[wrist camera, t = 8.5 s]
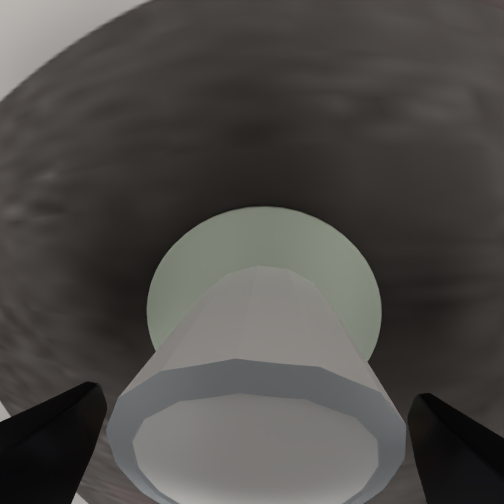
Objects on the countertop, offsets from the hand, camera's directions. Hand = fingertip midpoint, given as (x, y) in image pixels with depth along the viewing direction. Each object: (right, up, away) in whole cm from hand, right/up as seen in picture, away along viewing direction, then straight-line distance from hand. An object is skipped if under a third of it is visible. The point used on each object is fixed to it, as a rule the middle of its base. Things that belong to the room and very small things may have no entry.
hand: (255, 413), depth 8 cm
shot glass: (0, +1, +5) cm, 5 cm away
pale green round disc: (0, +1, +5) cm, 5 cm away
